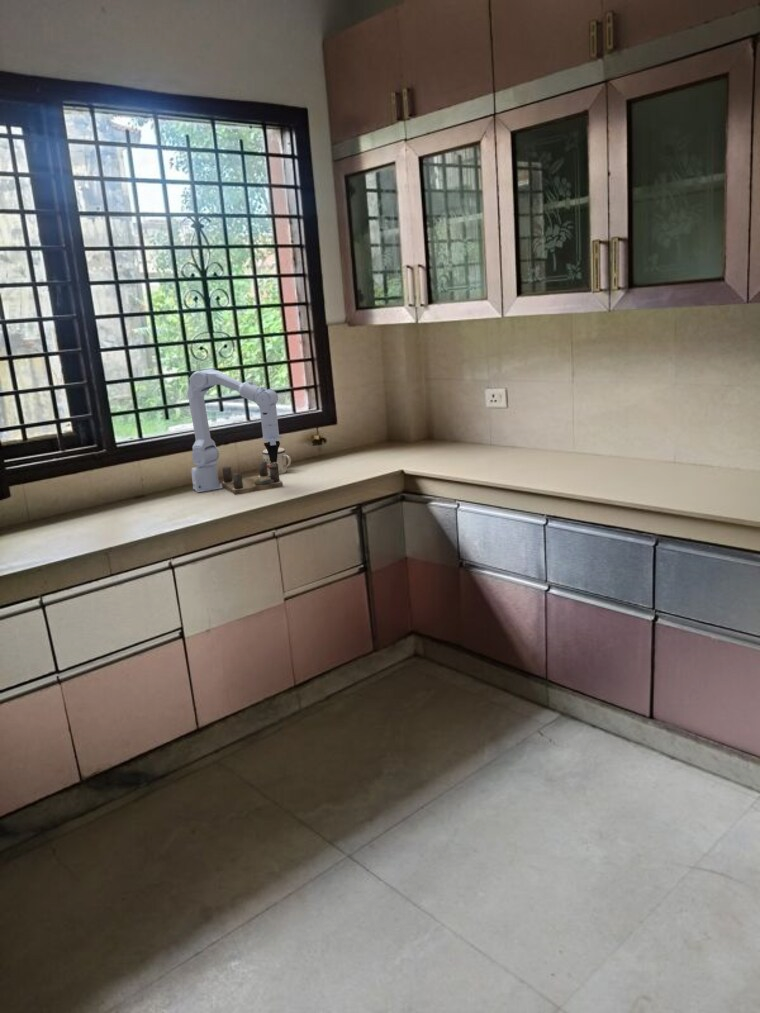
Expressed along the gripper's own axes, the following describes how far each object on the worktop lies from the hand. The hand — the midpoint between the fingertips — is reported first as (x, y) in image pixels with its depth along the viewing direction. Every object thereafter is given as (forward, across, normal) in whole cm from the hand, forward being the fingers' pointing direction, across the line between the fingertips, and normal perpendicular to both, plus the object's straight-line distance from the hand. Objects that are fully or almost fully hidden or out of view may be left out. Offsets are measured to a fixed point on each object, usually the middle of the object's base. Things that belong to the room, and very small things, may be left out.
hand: (273, 462), depth 278 cm
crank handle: (+8, +5, +3) cm, 10 cm away
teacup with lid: (+10, +30, -3) cm, 32 cm away
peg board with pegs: (+10, +10, +8) cm, 17 cm away
